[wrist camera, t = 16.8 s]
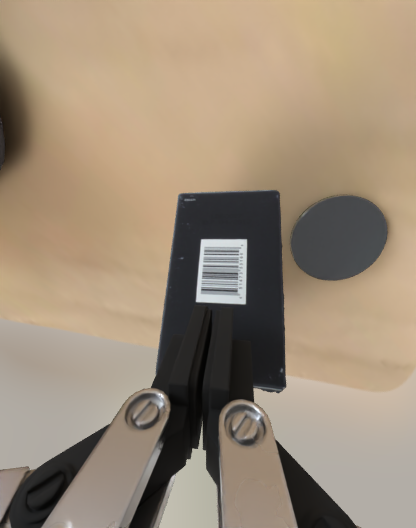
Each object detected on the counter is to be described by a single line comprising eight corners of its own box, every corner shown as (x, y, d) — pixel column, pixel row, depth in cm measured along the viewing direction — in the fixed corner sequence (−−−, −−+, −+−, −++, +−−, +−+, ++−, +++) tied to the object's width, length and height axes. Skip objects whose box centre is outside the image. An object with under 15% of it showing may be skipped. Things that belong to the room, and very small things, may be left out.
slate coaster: (396, 195, 19) (400, 195, 19) (370, 280, 22) (373, 283, 22) (296, 194, 20) (297, 194, 20) (284, 275, 23) (285, 278, 23)
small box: (144, 379, 11) (192, 363, 21) (289, 396, 10) (267, 371, 19) (172, 190, 14) (202, 254, 24) (282, 187, 13) (266, 255, 23)
